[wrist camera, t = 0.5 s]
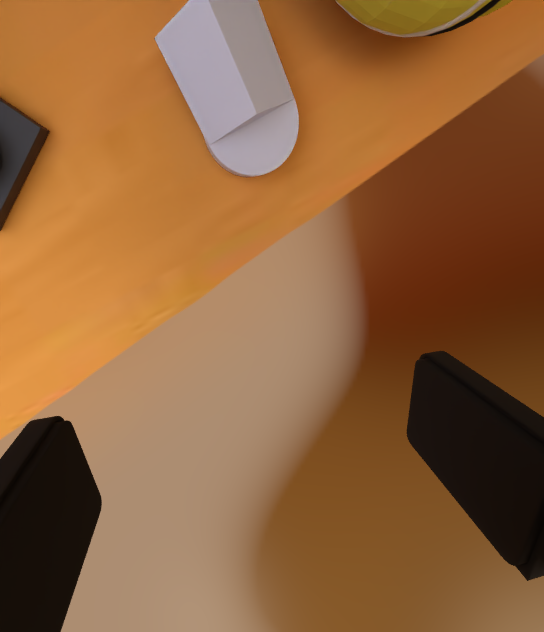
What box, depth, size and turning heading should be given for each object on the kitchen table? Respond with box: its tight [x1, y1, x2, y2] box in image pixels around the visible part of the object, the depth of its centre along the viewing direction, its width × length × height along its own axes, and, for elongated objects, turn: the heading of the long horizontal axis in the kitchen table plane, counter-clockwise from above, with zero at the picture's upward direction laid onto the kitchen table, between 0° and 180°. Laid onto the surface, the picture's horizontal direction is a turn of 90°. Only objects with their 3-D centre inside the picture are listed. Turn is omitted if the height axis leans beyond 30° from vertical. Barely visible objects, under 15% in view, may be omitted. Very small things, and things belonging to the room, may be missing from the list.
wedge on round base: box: [154, 0, 299, 177], centre depth 28 cm, size 9×7×13 cm
